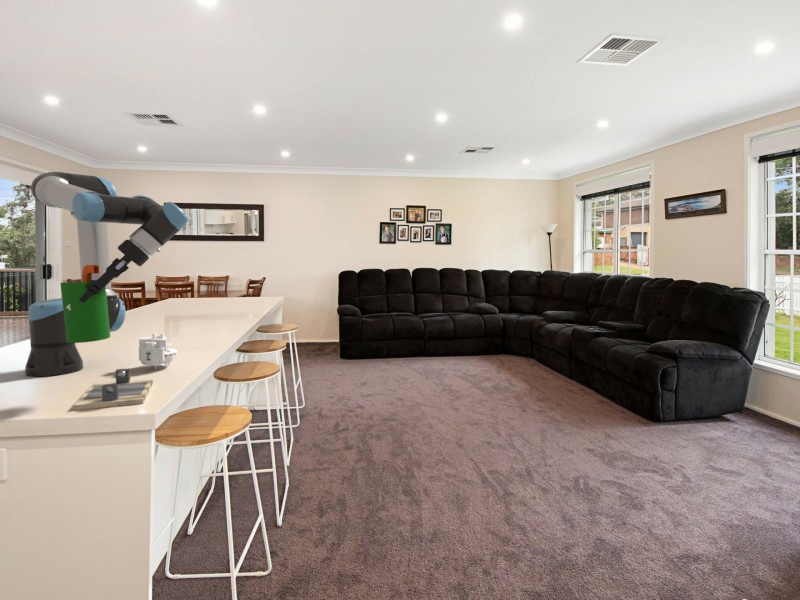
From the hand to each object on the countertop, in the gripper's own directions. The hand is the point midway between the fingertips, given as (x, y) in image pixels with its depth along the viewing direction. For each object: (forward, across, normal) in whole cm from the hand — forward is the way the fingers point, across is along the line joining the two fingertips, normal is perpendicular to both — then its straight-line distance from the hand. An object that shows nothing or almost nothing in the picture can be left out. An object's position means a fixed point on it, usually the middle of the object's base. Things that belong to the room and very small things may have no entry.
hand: (72, 309), depth 121 cm
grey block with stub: (+9, +5, -23) cm, 25 cm away
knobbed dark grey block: (+11, -11, -22) cm, 26 cm away
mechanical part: (+2, +26, -32) cm, 41 cm away
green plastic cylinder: (+4, 0, -8) cm, 9 cm away
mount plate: (+11, -3, -23) cm, 26 cm away
